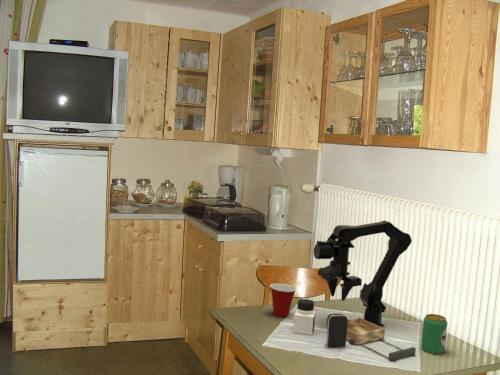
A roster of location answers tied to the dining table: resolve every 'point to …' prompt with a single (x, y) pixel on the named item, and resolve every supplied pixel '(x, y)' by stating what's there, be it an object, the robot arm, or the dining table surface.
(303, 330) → the medicine bottle
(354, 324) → the shallow wooden tray
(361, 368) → the dining table surface
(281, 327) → the dining table surface
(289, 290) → the plastic cup
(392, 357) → the rails
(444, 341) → the beverage can
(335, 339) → the battery charger
